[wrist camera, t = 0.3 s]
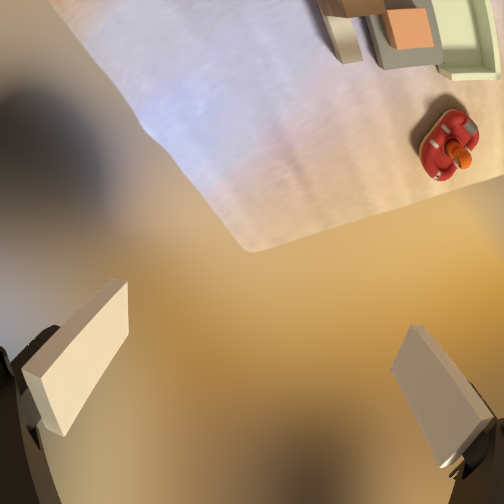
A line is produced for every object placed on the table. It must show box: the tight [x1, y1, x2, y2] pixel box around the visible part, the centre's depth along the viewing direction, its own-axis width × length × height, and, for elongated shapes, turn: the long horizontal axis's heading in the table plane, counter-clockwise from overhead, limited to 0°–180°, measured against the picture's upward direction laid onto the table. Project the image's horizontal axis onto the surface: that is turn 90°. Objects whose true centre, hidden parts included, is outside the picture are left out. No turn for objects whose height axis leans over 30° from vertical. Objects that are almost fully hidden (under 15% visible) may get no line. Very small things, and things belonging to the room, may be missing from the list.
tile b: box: [381, 8, 434, 50], centre depth 22 cm, size 5×5×2 cm
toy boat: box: [419, 109, 479, 181], centre depth 33 cm, size 8×12×8 cm, turn 157°
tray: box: [431, 0, 501, 81], centre depth 18 cm, size 22×9×4 cm, turn 21°
